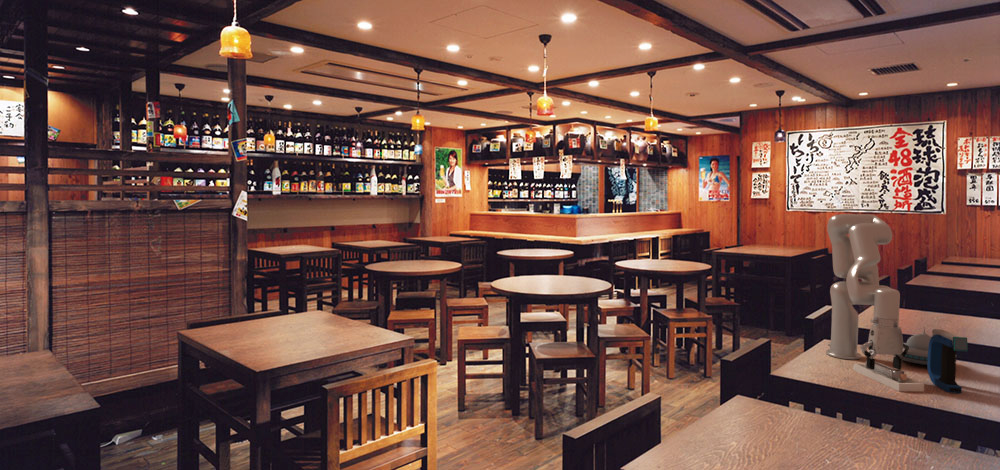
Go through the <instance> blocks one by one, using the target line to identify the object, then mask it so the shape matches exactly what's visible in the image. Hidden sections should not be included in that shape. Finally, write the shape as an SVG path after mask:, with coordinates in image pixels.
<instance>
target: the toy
mask: <svg viewBox="0 0 1000 470" xmlns="http://www.w3.org/2000/svg"><path fill="white" fill-rule="evenodd" d="M925 328H926V327H925V326H924V327H923V332H922V333H917V334H914V335H911V336H910V337H908V338H907V341H906V342H903V344H905V345H907V346H909V350H908V351H907V354H906V355H905V356H904V358H903V359H902V361H905V362H909V363H913V364H919V365H924V366H925V365H926V366H927V361H928V347H929V342H930V339H931V337H932V335H929V334H927V333H926V329H925ZM893 357H895V355H893ZM957 357H958V355H957V354H956V356H955V363H956V362H957V359H956V358H957Z"/></svg>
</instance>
